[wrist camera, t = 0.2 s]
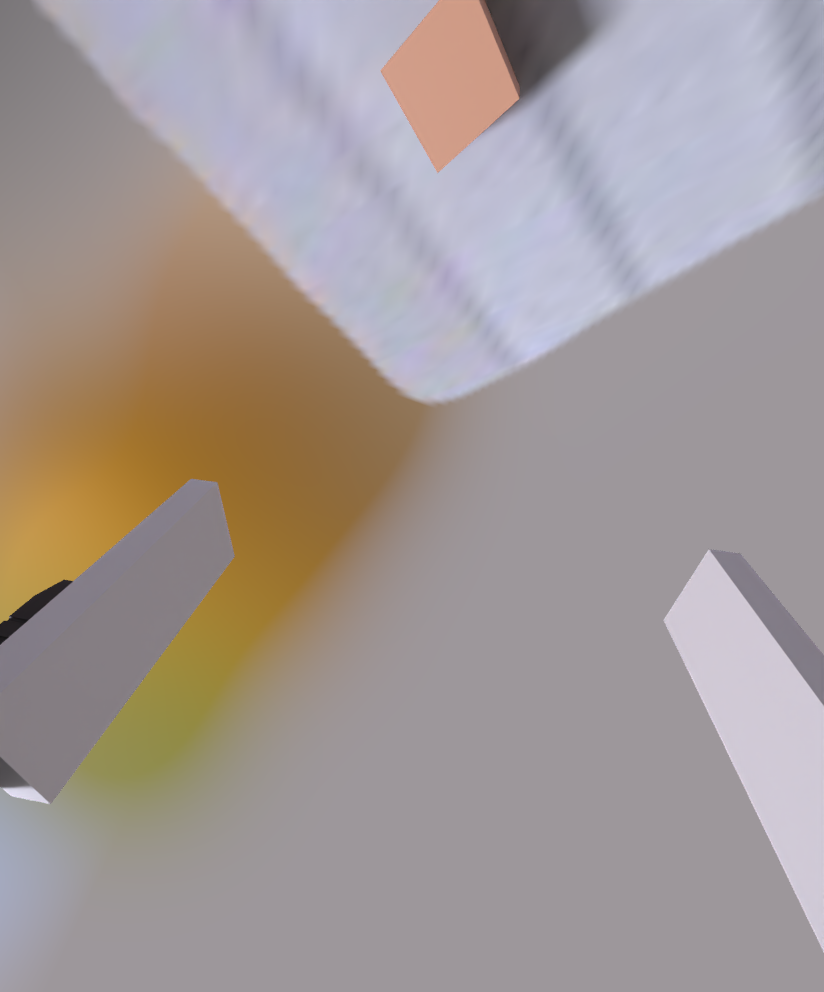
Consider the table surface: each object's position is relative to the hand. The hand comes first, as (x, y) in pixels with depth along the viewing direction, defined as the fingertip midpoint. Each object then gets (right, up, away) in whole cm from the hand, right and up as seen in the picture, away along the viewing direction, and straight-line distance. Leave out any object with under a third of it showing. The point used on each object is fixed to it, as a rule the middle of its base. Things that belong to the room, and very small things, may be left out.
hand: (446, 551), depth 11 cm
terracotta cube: (+2, +26, +12) cm, 28 cm away
